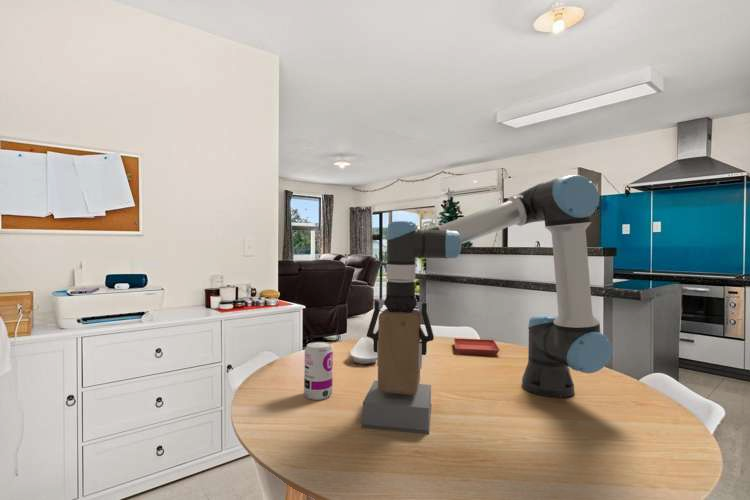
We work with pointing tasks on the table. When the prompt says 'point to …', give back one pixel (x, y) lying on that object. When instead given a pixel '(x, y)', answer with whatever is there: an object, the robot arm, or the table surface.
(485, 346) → the plant saucer
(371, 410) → the charcoal base block
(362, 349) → the spoon rest
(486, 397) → the table surface
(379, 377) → the wooden block
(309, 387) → the supplement can
